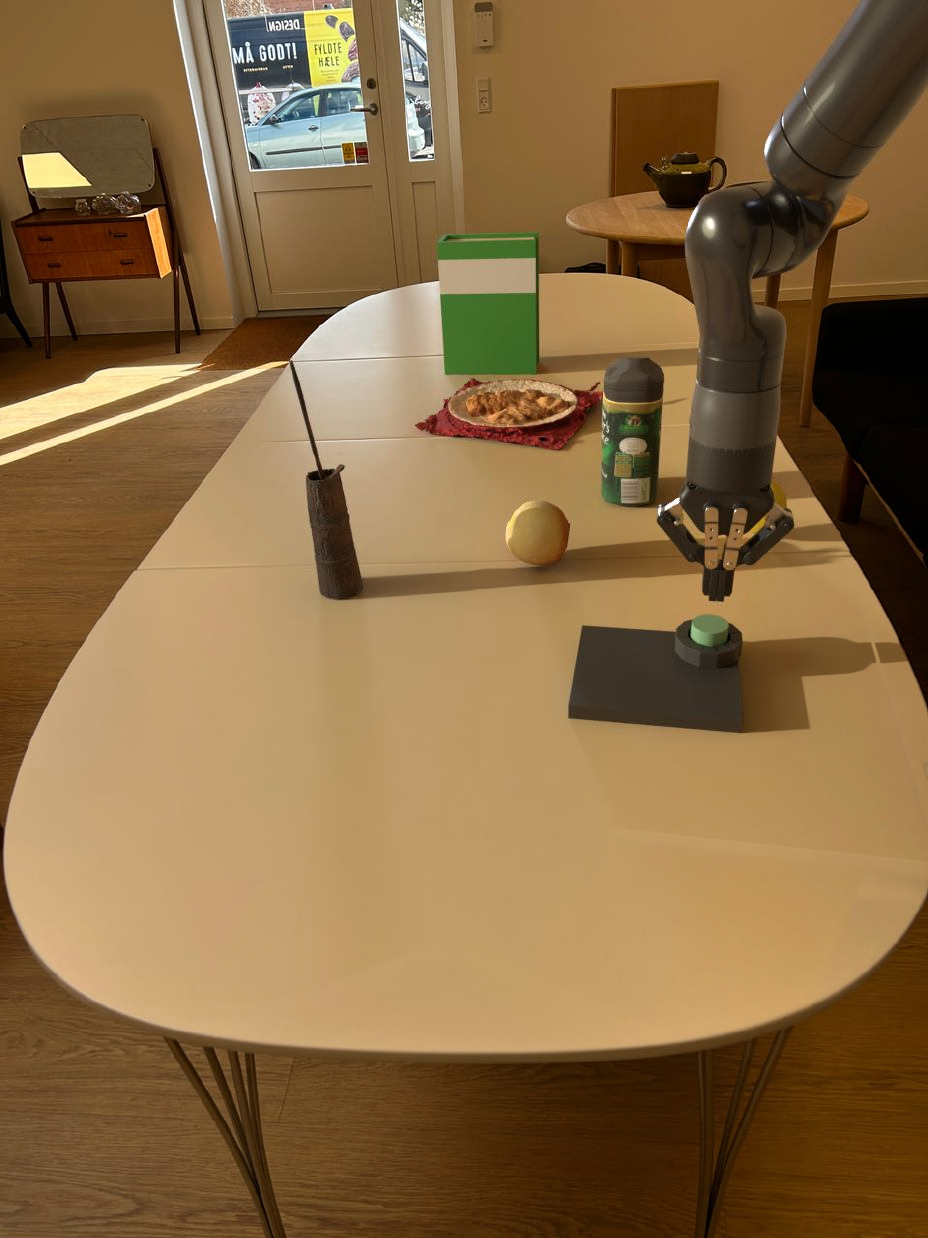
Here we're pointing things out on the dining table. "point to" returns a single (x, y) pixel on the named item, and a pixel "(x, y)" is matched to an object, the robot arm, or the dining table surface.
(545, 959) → the dining table surface
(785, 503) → the lemon
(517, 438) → the plate with food
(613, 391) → the coffee jar
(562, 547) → the fruit
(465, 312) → the hardback book
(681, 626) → the dark grey button base
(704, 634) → the button
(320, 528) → the butter churn
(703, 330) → the robot arm
